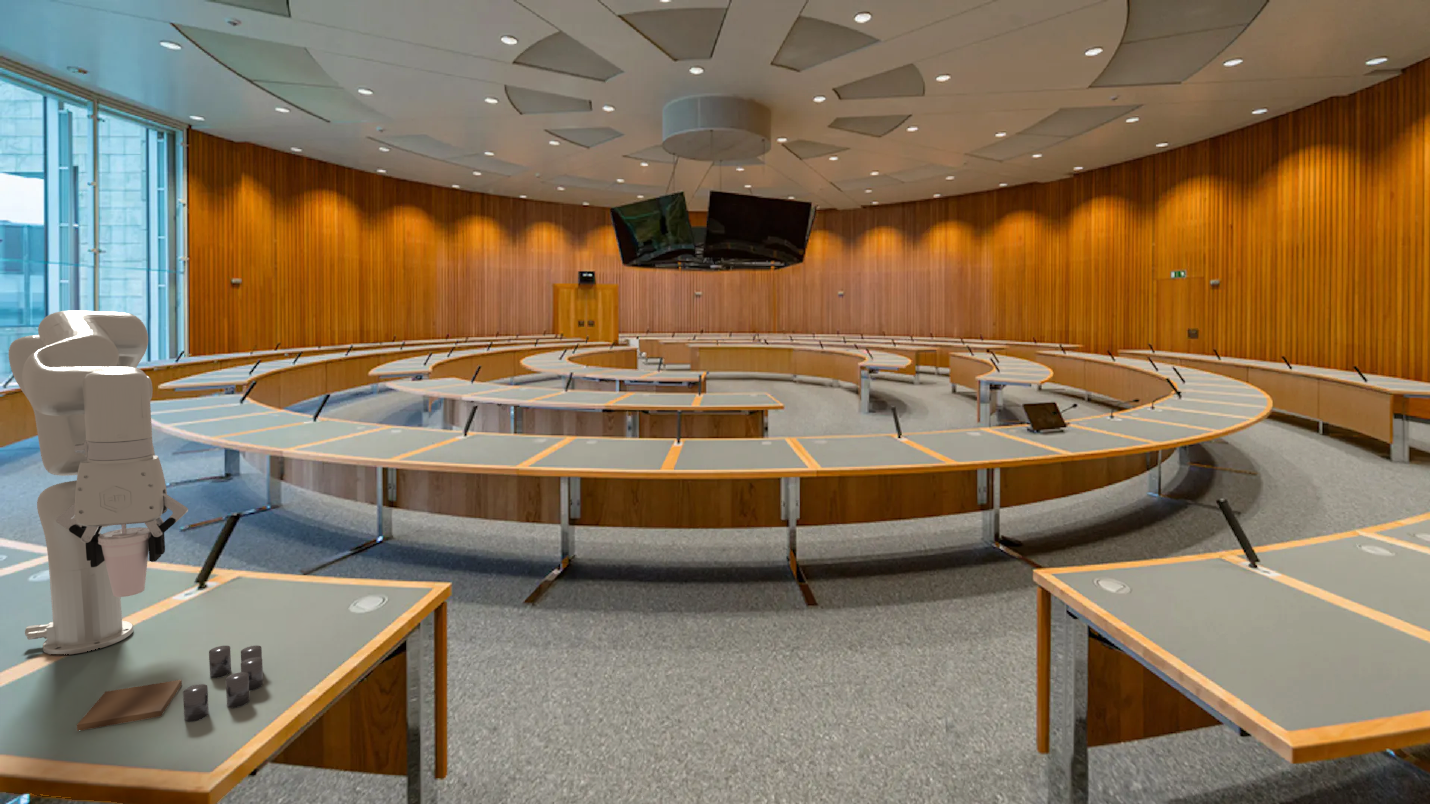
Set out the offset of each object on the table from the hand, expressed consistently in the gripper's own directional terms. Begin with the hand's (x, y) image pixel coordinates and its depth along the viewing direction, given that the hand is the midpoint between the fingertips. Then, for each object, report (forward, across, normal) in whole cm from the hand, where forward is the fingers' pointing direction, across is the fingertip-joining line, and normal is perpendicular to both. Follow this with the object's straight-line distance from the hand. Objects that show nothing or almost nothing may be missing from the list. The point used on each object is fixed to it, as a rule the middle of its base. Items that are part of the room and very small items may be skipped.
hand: (127, 560), depth 102 cm
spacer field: (+24, +13, -1) cm, 27 cm away
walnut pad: (+24, 0, 0) cm, 24 cm away
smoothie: (+5, 0, 0) cm, 5 cm away
